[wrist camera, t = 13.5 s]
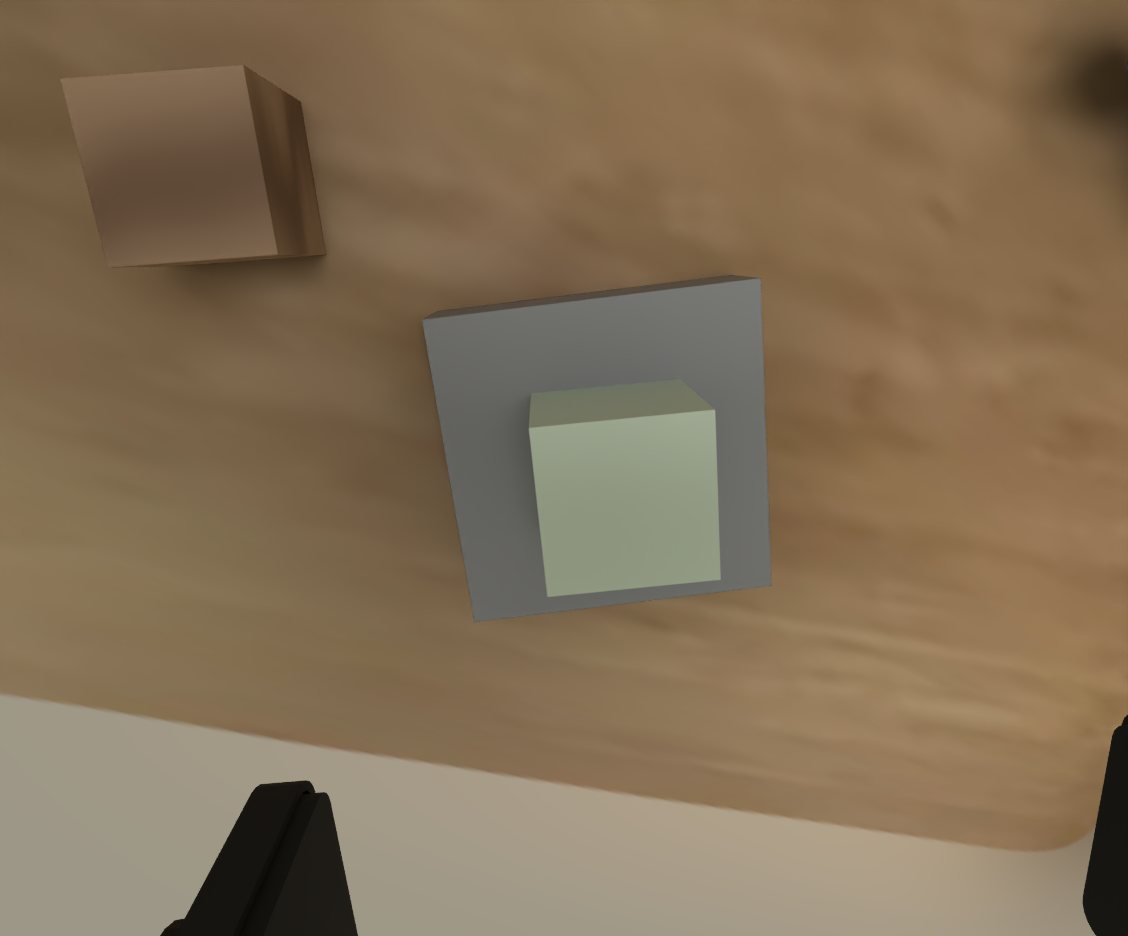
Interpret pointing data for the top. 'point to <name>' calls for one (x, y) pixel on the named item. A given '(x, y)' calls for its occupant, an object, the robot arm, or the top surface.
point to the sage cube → (625, 486)
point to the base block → (584, 360)
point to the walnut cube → (195, 167)
